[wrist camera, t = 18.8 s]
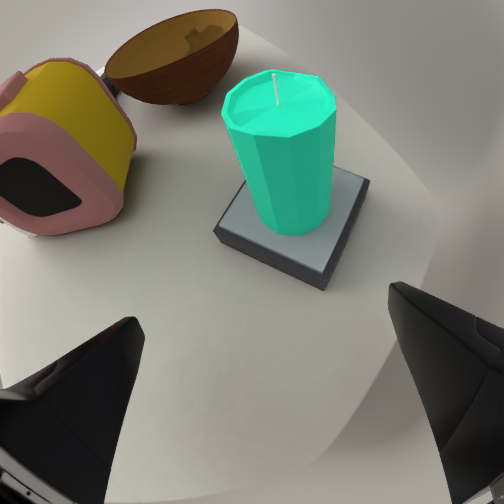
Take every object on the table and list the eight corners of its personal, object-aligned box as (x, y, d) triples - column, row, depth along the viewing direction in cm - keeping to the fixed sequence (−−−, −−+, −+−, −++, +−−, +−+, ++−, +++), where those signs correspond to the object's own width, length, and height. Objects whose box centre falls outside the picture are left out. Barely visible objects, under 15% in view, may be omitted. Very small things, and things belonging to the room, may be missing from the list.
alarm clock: (37, 244, 31) (-64, 176, 14) (56, 178, 35) (-23, 104, 18) (141, 222, 28) (12, 94, 11) (155, 144, 33) (74, 23, 15)
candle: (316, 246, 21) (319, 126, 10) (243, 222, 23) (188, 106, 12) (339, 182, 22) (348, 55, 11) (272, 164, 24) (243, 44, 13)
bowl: (148, 156, 32) (106, 100, 23) (130, 95, 39) (103, 52, 30) (275, 93, 32) (262, 27, 23) (224, 49, 39) (209, 2, 30)
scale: (366, 195, 25) (371, 175, 22) (323, 291, 23) (325, 281, 20) (272, 160, 28) (267, 140, 25) (220, 242, 26) (209, 227, 23)
